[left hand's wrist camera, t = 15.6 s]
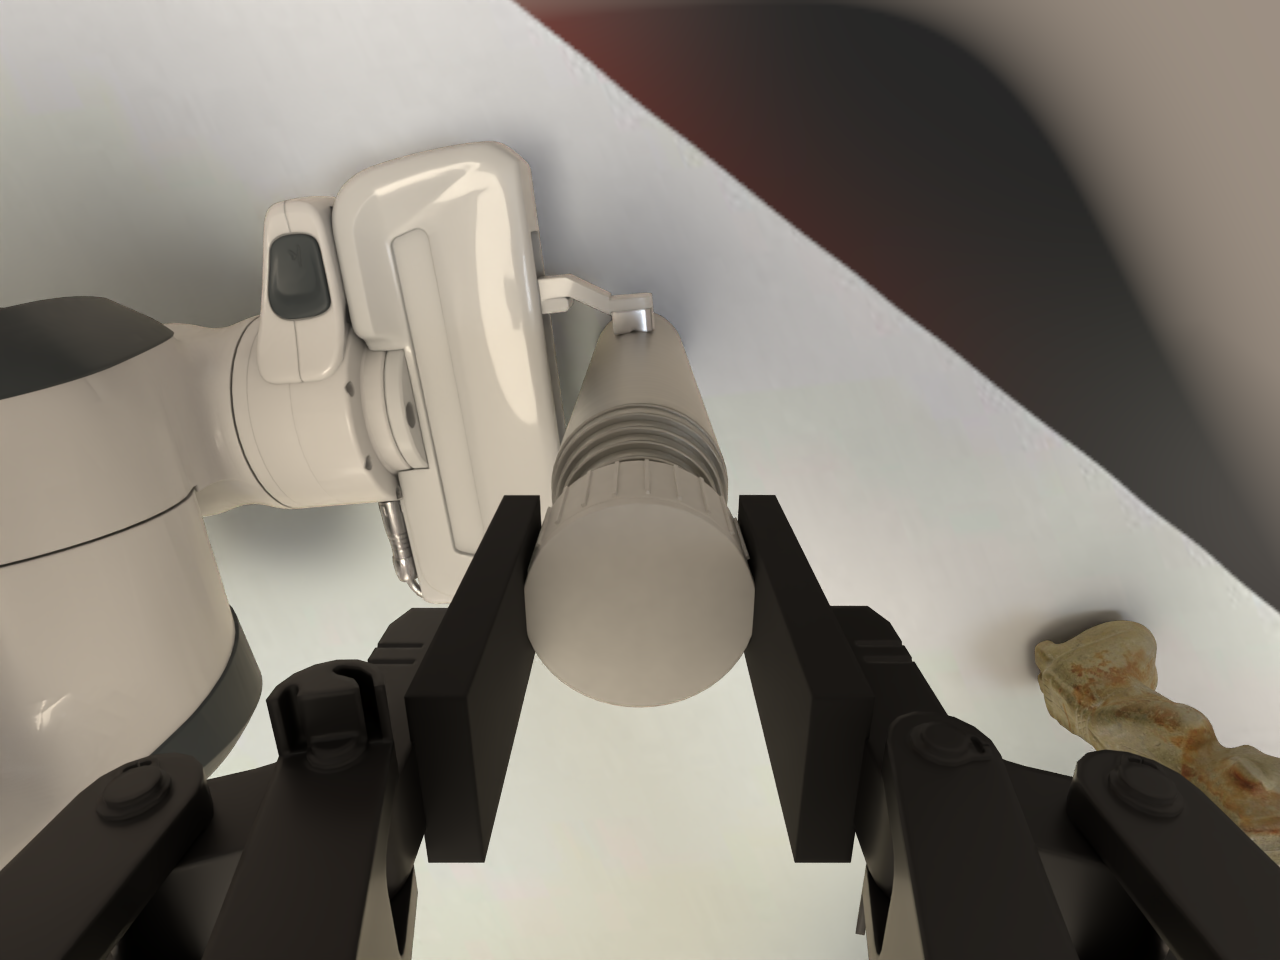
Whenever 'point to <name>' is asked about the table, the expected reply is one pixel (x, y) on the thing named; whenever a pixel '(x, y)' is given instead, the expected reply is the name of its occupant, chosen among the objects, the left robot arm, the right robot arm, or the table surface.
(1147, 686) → the sculpture
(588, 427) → the bottle
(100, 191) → the table surface
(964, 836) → the left robot arm
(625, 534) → the cap
